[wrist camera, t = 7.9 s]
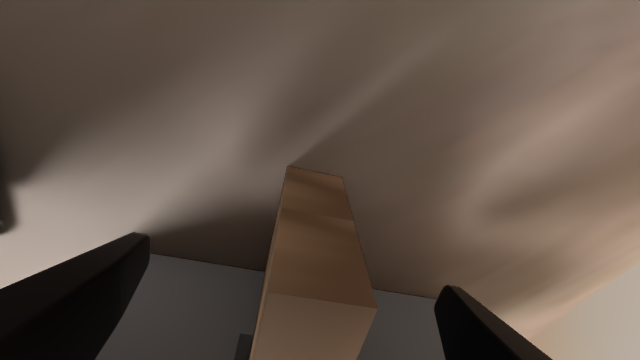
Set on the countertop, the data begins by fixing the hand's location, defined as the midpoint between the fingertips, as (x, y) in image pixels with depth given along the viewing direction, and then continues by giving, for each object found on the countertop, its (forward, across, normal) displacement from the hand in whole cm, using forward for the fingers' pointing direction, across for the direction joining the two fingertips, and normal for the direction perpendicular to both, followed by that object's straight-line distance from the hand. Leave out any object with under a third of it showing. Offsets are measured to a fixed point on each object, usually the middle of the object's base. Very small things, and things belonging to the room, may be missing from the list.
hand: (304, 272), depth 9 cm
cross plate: (+3, 0, +4) cm, 5 cm away
